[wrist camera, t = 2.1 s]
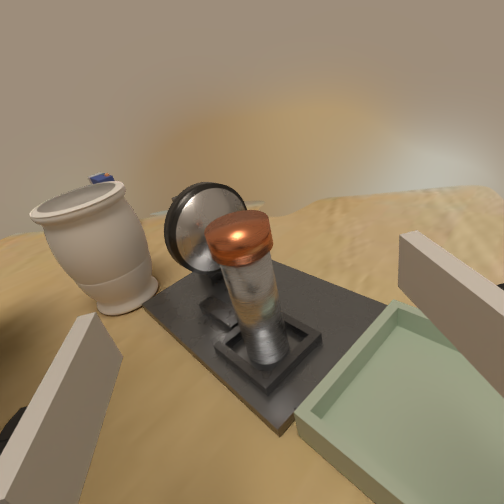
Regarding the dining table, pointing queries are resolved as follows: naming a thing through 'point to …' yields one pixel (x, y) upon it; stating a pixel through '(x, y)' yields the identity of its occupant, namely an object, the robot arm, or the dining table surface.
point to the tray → (408, 417)
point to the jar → (100, 245)
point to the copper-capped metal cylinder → (250, 281)
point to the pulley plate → (225, 322)
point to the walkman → (100, 178)
